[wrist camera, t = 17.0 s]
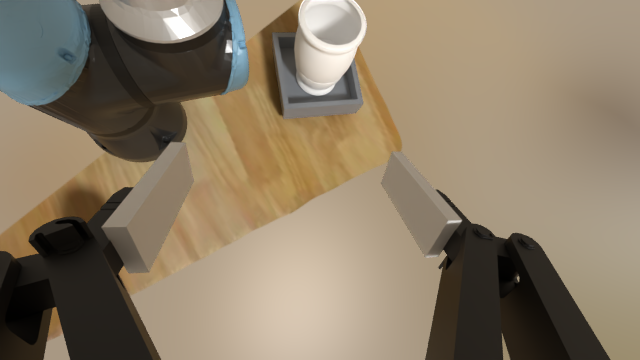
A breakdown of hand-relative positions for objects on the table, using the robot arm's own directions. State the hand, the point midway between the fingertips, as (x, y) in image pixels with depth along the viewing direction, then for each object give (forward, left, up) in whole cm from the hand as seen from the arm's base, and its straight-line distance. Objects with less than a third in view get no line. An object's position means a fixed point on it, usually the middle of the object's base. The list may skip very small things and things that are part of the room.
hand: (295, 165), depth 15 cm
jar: (+11, +24, -29) cm, 40 cm away
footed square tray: (+11, +25, -32) cm, 42 cm away
